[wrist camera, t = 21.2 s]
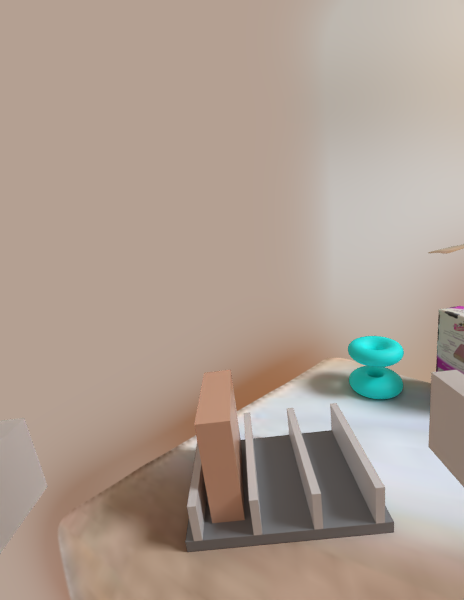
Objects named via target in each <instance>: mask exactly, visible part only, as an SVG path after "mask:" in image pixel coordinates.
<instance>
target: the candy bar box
mask: <svg viewBox="0 0 464 600" xmlns="http://www.w3.org/2000/svg"><path fill="white" fill-rule="evenodd" d="M438 321H439V322H438V341H437V344H438V345H437V366H436V372H440V371H449V370H458V371H459V372H461V373H462V374H464V307H463V306H457V307H451V308H446V309H440V310H439V319H438Z"/></svg>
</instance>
